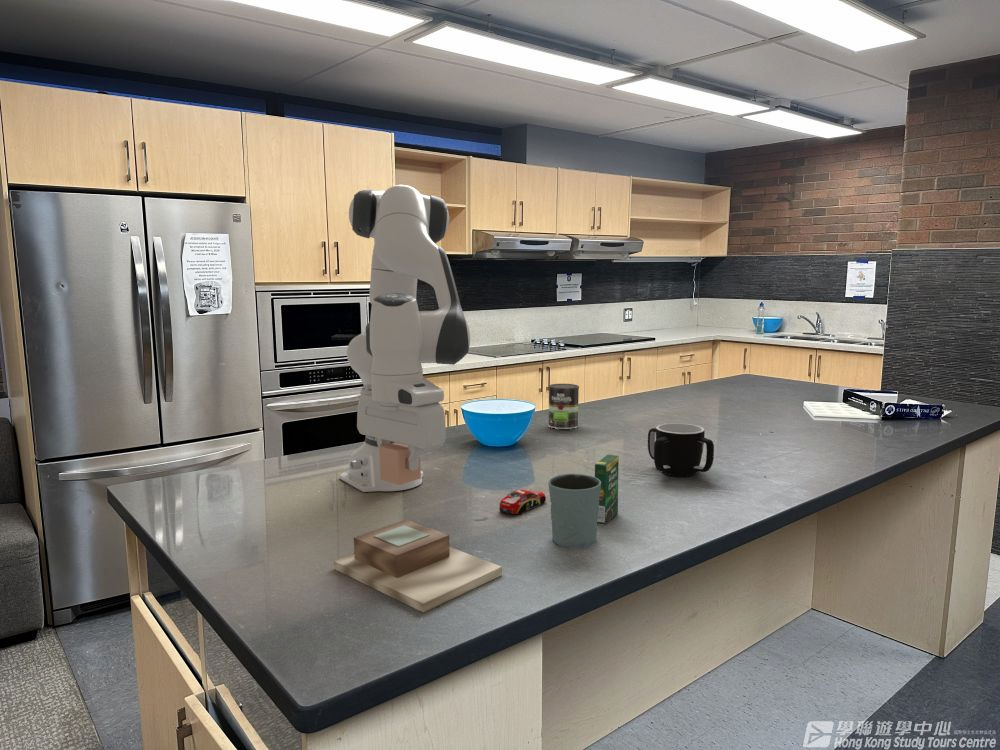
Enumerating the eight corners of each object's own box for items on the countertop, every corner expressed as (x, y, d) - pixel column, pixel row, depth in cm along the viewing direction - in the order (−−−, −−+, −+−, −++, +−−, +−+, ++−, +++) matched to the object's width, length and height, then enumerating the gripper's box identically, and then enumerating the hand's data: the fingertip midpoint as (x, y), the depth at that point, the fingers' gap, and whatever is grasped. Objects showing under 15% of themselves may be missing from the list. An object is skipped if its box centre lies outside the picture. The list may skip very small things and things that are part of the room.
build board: (334, 568, 122) (332, 538, 122) (412, 539, 136) (411, 512, 135) (423, 612, 106) (422, 577, 106) (502, 574, 119) (501, 543, 119)
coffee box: (606, 526, 142) (607, 464, 140) (592, 523, 143) (593, 462, 141) (618, 514, 149) (620, 455, 147) (606, 512, 150) (607, 453, 148)
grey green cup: (595, 530, 140) (596, 473, 138) (604, 550, 130) (605, 488, 128) (545, 531, 140) (546, 473, 138) (551, 551, 130) (551, 489, 128)
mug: (713, 483, 170) (715, 436, 168) (647, 480, 173) (648, 433, 171) (707, 465, 186) (709, 422, 184) (647, 462, 189) (648, 420, 187)
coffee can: (575, 430, 228) (576, 388, 226) (545, 429, 231) (545, 387, 229) (581, 424, 238) (581, 384, 236) (552, 422, 241) (552, 382, 239)
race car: (531, 498, 161) (531, 481, 161) (550, 502, 158) (550, 485, 157) (494, 512, 151) (494, 495, 151) (514, 518, 148) (514, 500, 147)
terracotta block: (380, 479, 121) (379, 446, 120) (402, 473, 125) (401, 441, 124) (398, 485, 118) (397, 451, 117) (420, 478, 121) (419, 445, 121)
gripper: (346, 384, 124) (350, 459, 126) (422, 397, 110) (424, 481, 112) (375, 380, 128) (378, 452, 130) (450, 392, 115) (452, 472, 117)
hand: (400, 466), depth 121 cm, fingers closed on terracotta block, 5 cm apart
